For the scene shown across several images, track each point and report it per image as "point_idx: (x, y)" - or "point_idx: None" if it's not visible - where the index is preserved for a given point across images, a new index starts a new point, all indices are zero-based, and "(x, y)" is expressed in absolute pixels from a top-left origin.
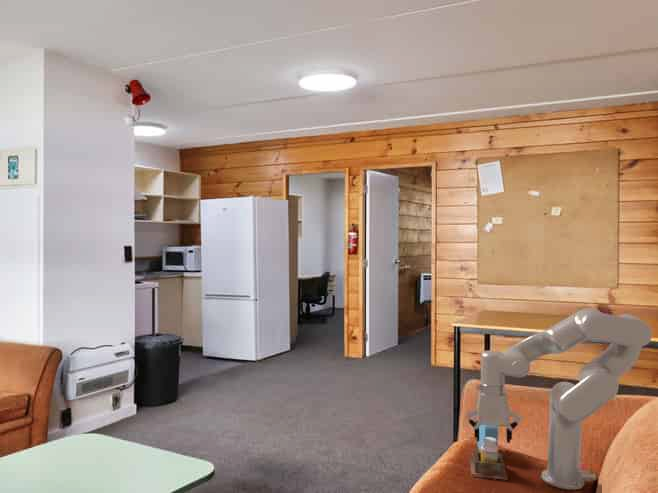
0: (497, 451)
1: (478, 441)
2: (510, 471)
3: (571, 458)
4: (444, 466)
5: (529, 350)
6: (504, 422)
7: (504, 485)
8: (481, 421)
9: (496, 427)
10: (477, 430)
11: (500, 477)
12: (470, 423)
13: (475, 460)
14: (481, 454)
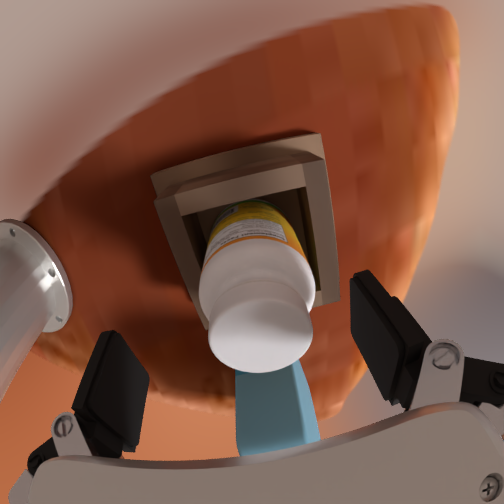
0: (200, 278)
1: (310, 398)
2: (165, 271)
3: None
4: (424, 191)
5: None
6: (62, 494)
7: (158, 117)
8: (457, 444)
9: (246, 454)
10: (416, 335)
11: (182, 165)
12: (499, 366)
13: (326, 183)
14: (301, 247)
